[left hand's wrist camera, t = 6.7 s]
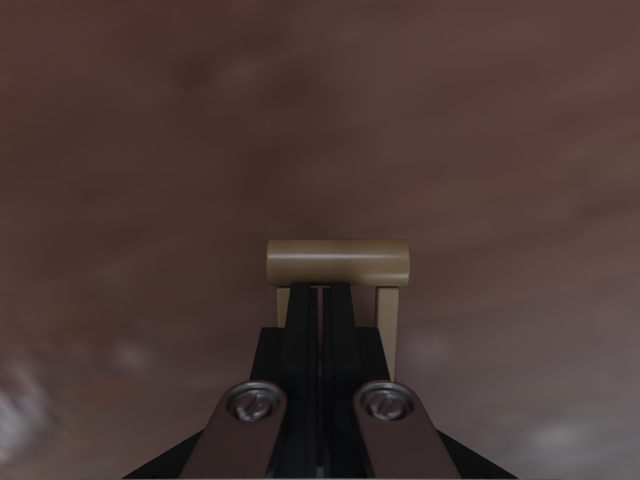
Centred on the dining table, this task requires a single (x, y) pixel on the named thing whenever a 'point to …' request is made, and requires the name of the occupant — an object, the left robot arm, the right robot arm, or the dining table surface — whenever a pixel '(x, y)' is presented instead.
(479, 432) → the dining table surface
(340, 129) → the dining table surface
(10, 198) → the dining table surface
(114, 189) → the dining table surface
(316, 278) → the wooden handle frame
